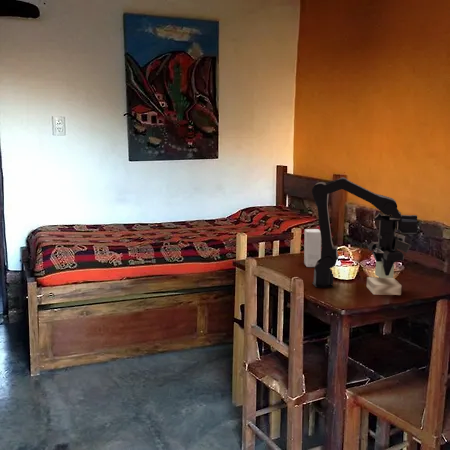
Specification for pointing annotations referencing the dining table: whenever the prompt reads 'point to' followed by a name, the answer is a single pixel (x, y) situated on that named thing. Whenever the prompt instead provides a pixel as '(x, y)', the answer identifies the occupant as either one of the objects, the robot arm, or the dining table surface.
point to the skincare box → (312, 247)
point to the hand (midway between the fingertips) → (384, 273)
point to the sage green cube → (380, 271)
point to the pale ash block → (383, 286)
